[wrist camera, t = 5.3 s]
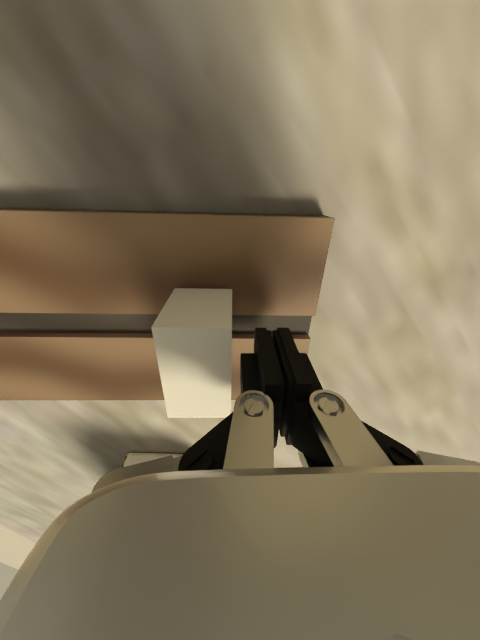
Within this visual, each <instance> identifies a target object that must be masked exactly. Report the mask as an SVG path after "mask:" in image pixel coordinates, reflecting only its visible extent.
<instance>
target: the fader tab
mask: <svg viewBox="0 0 480 640" xmlns="http://www.w3.org/2000/svg"><path fill="white" fill-rule="evenodd" d="M151 328H152V334H153V339H154V345H155V350H156V356H157V361H158V367H159V372H160V378H161V383H162V389H163V394H164V400H165V405H166V411H167V416H168V418H226V417H227V416H229V415H230V414H231V376H232V289H198V288H175V289H174V290H173V292H172V294H171V295H170V297H169V299H168V300H167V302H166V304H165V305H164V307H163V309H162V310H161V312H160V313H159V315H158V317H157V318H156V320H155V322H154V323H153V325H152V327H151Z"/></svg>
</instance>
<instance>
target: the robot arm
mask: <svg viewBox="0 0 480 640" xmlns="http://www.w3.org/2000/svg"><path fill="white" fill-rule="evenodd" d="M240 385H241V394H240V395H239V396H238V397H237V399H236V401H235V405H234V411H233V412H232V413H231V414H230V415H229V416H227V417H226V418H225V419H224V420H223V421H221V422H220V423H219V424H218V425H217V426H215V427H214V428H213V429H212V430H211V431H209V432H208V433H207V434H206V435H205V436H203V437H202V438H201V439H200V440H199V441H197V442H196V443H195V444H194V445H193V446H191V447H190V448H189V449H188V450H187V451H186V452H185V453H184V454H183V456H179V457H175V458H173V455H171V456H167V457H162V458H158V459H154V460H150V461H146V462H142V463H138V464H134V465H130V466H126V467H122V468H118V469H115V470H112V471H110V472H108V473H107V474H105V475H104V476H103V477H101V478H100V480H99V481H98V482H97V483H96V485H95V486H94V488H93V490H92V493H90V494H89V495H87V496H85V497H83V498H82V499H80V500H78V501H77V502H75V503H74V504H72V505H71V506H69V507H68V508H67V509H66V510H64V511H63V512H62V513H61V514H60V515H59V516H58V517H57V518H56V519H55V520H54V521H53V522H52V523H51V525H50V526H49V527H48V528H47V530H46V531H45V532H44V534H43V535H42V536H41V538H40V539H39V540H38V542H37V543H36V545H35V546H34V548H33V549H32V550H31V552H30V553H29V555H28V556H27V558H26V559H25V561H24V563H23V564H22V566H21V567H20V569H19V570H18V572H17V574H16V575H15V577H14V579H13V580H12V582H11V584H10V585H9V587H8V588H7V590H6V592H5V594H4V595H3V597H2V599H1V600H0V640H480V463H478V462H474V461H469V460H464V459H459V458H454V457H448V456H443V455H438V454H433V453H428V452H422V451H417V452H416V453H414V452H413V451H412V450H410V449H409V448H407V447H406V446H404V445H403V444H401V443H399V442H397V441H396V440H394V439H392V438H390V437H389V436H387V435H385V434H383V433H382V432H380V431H378V430H376V429H375V428H373V427H371V426H369V425H368V424H366V423H364V422H362V421H361V420H360V419H359V418H358V416H357V415H356V414H355V412H354V411H353V409H352V408H351V407H350V405H349V404H348V403H347V401H346V400H345V399H344V398H343V397H342V396H340V395H339V394H337V393H335V392H333V391H330V390H323V388H322V386H321V384H320V382H319V380H318V378H317V375H316V373H315V371H314V369H313V367H312V364H311V362H310V360H309V358H308V356H307V354H306V353H299V351H298V349H297V346H296V344H295V342H294V339H293V337H292V334H291V332H290V329H289V328H277V330H273V334H272V335H271V331H270V330H267V329H266V328H255V333H254V353H241V355H240ZM278 431H280V435H281V437H284V436H285V440H286V444H287V445H293V446H294V447H295V448H296V449H298V454H299V458H300V461H301V463H302V466H303V467H298V468H274V448H275V447H276V445H277V438H278Z"/></svg>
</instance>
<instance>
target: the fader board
mask: <svg viewBox="0 0 480 640" xmlns="http://www.w3.org/2000/svg"><path fill="white" fill-rule="evenodd" d="M333 223H334V218H331V217H328V216H324V215H286V214H244V213H202V212H160V211H118V210H76V209H34V208H0V400H164V394H163V389H162V383H161V378H160V372H159V367H158V361H157V356H156V350H155V345H154V339H153V334H152V328H151V327H152V325H153V323H154V322H155V320H156V318H157V317H158V315H159V313H160V312H161V310H162V309H163V307H164V305H165V304H166V302H167V300H168V299H169V297H170V295H171V294H172V292H173V290H174V289H175V288H198V289H232V376H231V400H236V399H237V397H238V396H239V395H240V394H241V385H240V355H241V353H254V333H255V328H266V329H267V330H270V331H271V335H272V334H273V330H277V328H289V329H290V332H291V334H292V337H293V339H294V342H295V344H296V346H297V349H298V351H299V353H306V354H307V353H308V348H309V343H310V337H309V335H308V333H309V327H310V322H311V317H312V316H315V313H316V308H317V303H318V298H319V293H320V288H321V283H322V278H323V273H324V268H325V263H326V258H327V253H328V248H329V243H330V238H331V233H332V228H333Z"/></svg>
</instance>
